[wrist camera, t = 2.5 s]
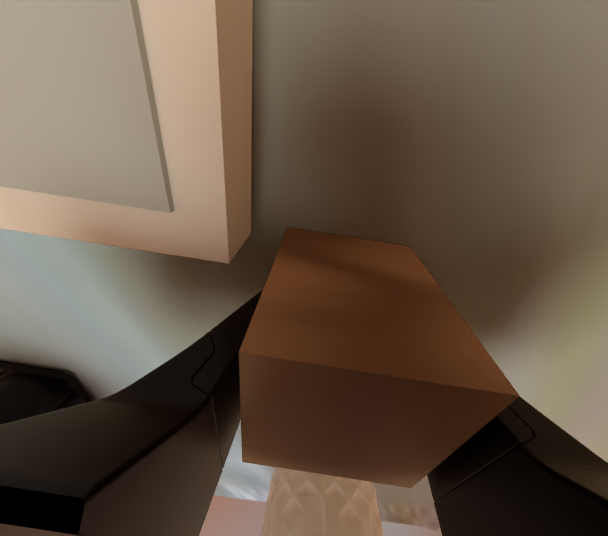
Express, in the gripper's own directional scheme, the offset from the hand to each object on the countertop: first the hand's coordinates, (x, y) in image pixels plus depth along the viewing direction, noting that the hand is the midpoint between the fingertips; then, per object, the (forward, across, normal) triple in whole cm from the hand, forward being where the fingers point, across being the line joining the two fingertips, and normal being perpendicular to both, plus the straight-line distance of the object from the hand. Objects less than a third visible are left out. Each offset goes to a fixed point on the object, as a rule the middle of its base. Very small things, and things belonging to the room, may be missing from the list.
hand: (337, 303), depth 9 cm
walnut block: (+1, 0, 0) cm, 1 cm away
